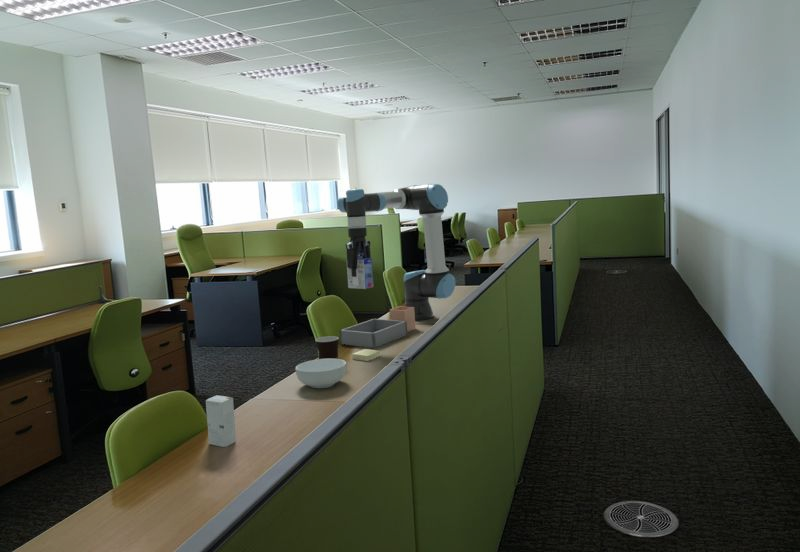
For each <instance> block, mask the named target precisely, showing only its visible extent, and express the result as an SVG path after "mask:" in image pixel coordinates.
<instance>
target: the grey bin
mask: <svg viewBox="0 0 800 552" xmlns="http://www.w3.org/2000/svg"><path fill="white" fill-rule="evenodd" d="M405 336H408V332H407V321H396V320H390V319H383V318H371V319H369V320H367V321H363V322H360V323H357V324H354V325H352V326H349V327H345V328H342V329H340V330H339V341H340V345H344V344H345V345H344V346H346V345H347V346H353V347H354V346H355V347H362V346H364V348H371V347H373V349H376V348H378V347H380V345H381V346H383V345H385V343H386V344H388V343H390V341H391V342H392V340H393V341H395V339H396V340H398V339H401V338H402V337H405ZM387 342H388V343H387ZM382 344H383V345H382ZM377 346H378V347H377ZM375 347H376V348H375Z"/></svg>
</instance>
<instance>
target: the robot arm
mask: <svg viewBox="0 0 800 552" xmlns="http://www.w3.org/2000/svg"><path fill="white" fill-rule="evenodd" d="M448 203H449V195H448V192H447V190H446V189H445V187H443V185H441V184H438V183H428V184H418V185H417V184H415V185H410V186H406V187H405V186H404V187H402V188H395V189H393V190H391V191H384V192H383V191H381V192H373V193H372V192H371V193H365V190H364V189H362V188H359V189H357V188H354V189H347V190H346V192H345V195H341V196H340V197H338V199H337V203H336V204H337V209H338V210H339V212H341V213H346V217H347V227H348V229H347V231H348V232H347V233H348V234H347V235H348V238H350V240H349V242H348V243H345V248H346V260H347V261H346V268H347V267H348V268H349V269H351V272H352V278H353V285H359V274H358V269H356V268H357V260H358V256H362V255H361V254H359V255H358V253H364V256H363V258H372V256H371V241H370V240H366V237H367V236H368V235H367V233H368V231H367V228H366V226H367V217H366V213H371V212H372V213H373V212H377V213H378V212H382V211H383V210H384V209H396V210H411V211H412V210H413V211H418V215H419V216H421V217H422V223H423V232H424V244H425V254H426V264H427V268H426V269H421V270H414V271H409V272H406V273H404V274H403V291H404V300H405V301H404V302H405V303H404V306H403V307H414V312H415V321H422V320H428V319H432V318H434V311H433V309H432V306H431V303H430V300H429V298H431V299H449V298H450V297H451V296H452V295H453V293H454V291H455V288H456V278H455V277H454V275H453V274H451V273H450V269H449V267H447V265H446V258H445V257H446V255H445V245H444V234H443V224H442V223H443V221H442V215H443V214H444V213H445V210H444V209H446V208H447V206H448Z"/></svg>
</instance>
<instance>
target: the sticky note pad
mask: <svg viewBox="0 0 800 552" xmlns="http://www.w3.org/2000/svg"><path fill="white" fill-rule="evenodd" d="M351 355H352V356H351V357H352V359H353V360H357V361H363V360H364V361H365V362H369V360H370V361H372V360H375V359H377V358H379V357H378V356H380V357H381V350H378V349H377V350H375V349H369V348H363V349H361V350H358V351H356V352H353V353H352V354H351ZM376 357H377V358H376ZM374 358H375V359H374ZM371 359H372V360H371Z"/></svg>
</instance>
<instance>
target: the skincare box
mask: <svg viewBox="0 0 800 552" xmlns="http://www.w3.org/2000/svg"><path fill="white" fill-rule="evenodd" d="M234 409H235V407H234V398H233V397H231V396H227V395H226V396H224V395H219V394H218V395H217V394H216V395H213V396H212V397H209V398H207V399H206V400H205V410H206V420H207V423H206V424H207V433H208V434H207V435H208V443H209V445H213V446H216V447H222V448H226V447H228V446H231V445H232V444H234V443H235V442H237V438H236V422H235V410H234Z"/></svg>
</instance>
